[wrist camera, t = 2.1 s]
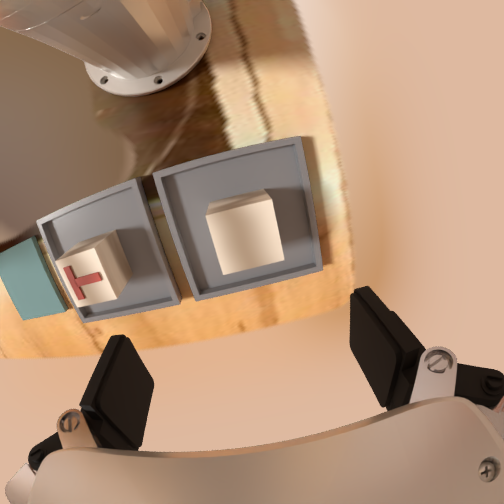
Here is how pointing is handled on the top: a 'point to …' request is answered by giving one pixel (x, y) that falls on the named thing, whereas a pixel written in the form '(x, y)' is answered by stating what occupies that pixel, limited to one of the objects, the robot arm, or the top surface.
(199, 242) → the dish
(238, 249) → the plain cube
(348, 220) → the top surface
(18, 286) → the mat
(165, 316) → the top surface
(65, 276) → the letter cube
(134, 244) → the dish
